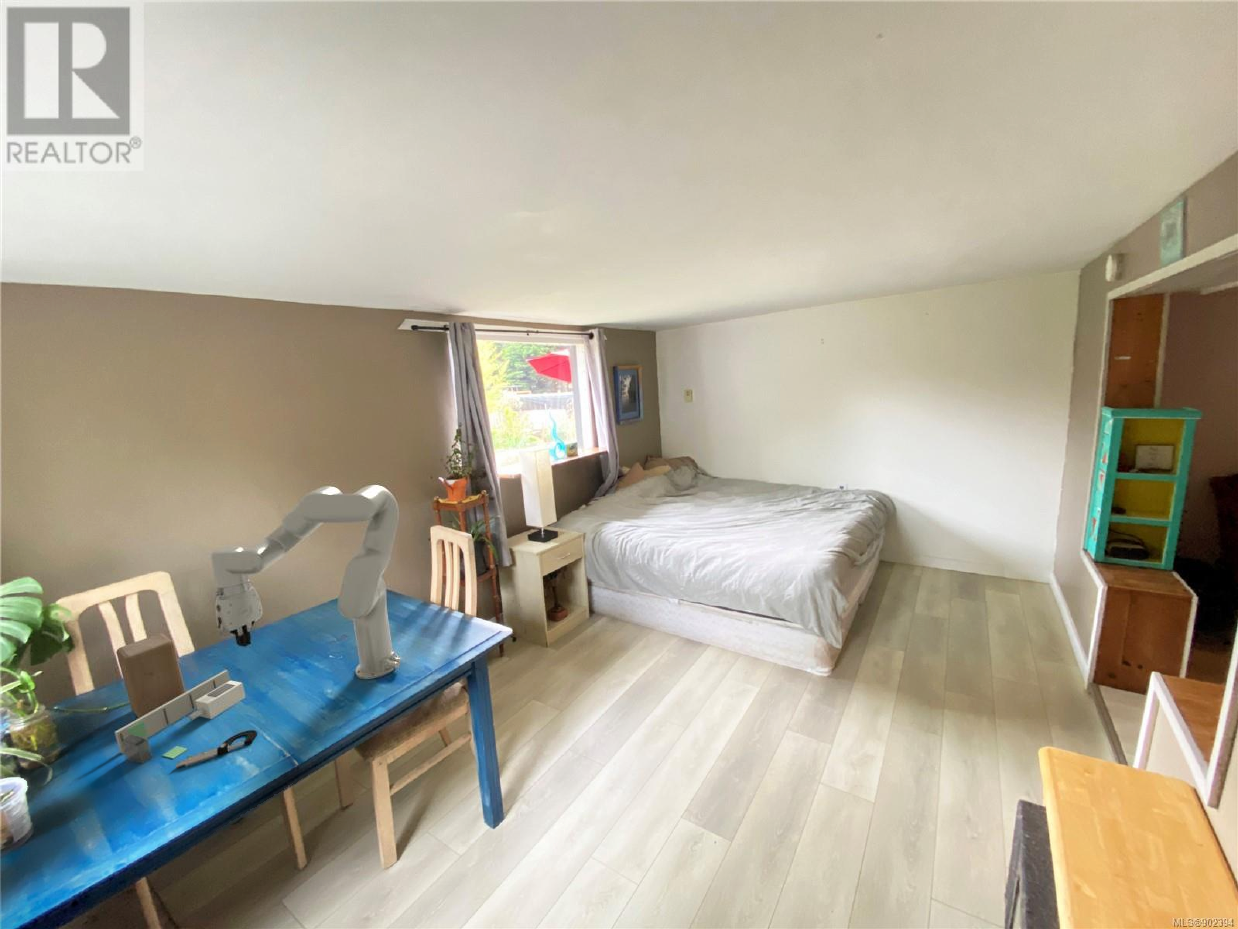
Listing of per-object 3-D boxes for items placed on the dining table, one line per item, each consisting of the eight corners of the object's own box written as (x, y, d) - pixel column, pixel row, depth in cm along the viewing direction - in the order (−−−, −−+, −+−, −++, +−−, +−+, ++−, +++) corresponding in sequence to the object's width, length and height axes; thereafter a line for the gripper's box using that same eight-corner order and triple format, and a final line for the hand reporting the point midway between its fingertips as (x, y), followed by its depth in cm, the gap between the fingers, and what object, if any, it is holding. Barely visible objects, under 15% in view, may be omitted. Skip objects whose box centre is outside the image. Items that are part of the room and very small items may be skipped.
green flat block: (187, 749, 115) (187, 749, 115) (173, 759, 112) (173, 758, 112) (177, 746, 116) (176, 746, 116) (162, 756, 113) (162, 755, 113)
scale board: (232, 688, 139) (228, 670, 138) (123, 753, 115) (117, 733, 114) (229, 687, 139) (225, 670, 138) (120, 752, 115) (114, 732, 114)
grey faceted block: (152, 757, 113) (147, 737, 112) (142, 764, 111) (136, 743, 110) (136, 753, 115) (131, 733, 114) (126, 759, 113) (120, 739, 112)
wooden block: (141, 723, 125) (123, 658, 122) (131, 710, 130) (114, 648, 127) (188, 701, 133) (173, 640, 130) (177, 690, 139) (163, 631, 135)
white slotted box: (245, 697, 134) (242, 682, 133) (199, 727, 123) (194, 710, 122) (233, 695, 136) (230, 679, 135) (186, 724, 124) (182, 707, 123)
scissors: (259, 728, 122) (258, 720, 122) (254, 746, 116) (252, 737, 116) (186, 752, 115) (184, 743, 114) (176, 772, 109) (174, 763, 108)
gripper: (214, 601, 125) (226, 661, 129) (269, 579, 139) (278, 633, 143) (196, 598, 127) (207, 657, 131) (251, 576, 141) (260, 630, 145)
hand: (244, 644), depth 137 cm, fingers closed
